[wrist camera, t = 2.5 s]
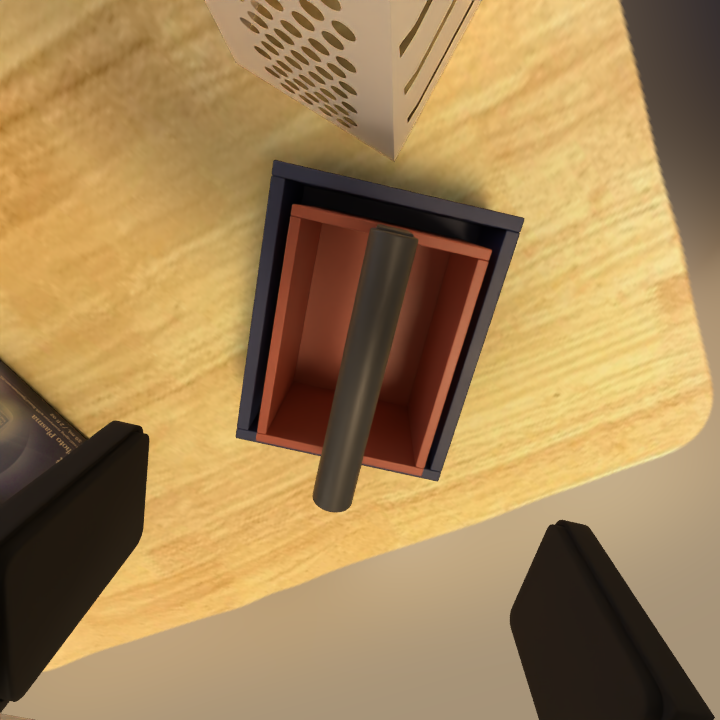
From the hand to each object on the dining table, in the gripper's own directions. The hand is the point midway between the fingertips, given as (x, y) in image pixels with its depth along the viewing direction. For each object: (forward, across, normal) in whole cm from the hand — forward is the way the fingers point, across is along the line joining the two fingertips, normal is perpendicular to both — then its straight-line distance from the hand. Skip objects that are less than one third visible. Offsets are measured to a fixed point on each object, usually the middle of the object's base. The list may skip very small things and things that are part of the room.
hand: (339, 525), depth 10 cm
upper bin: (+20, 0, 0) cm, 20 cm away
